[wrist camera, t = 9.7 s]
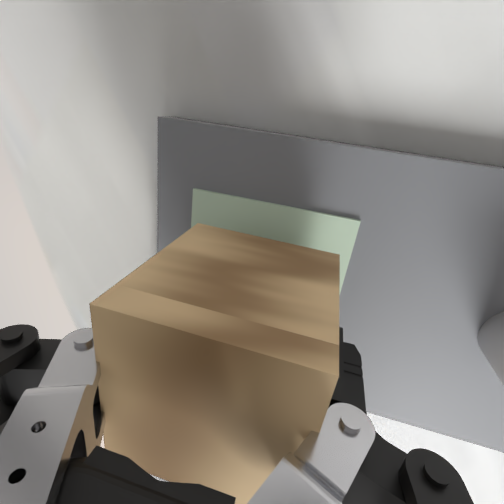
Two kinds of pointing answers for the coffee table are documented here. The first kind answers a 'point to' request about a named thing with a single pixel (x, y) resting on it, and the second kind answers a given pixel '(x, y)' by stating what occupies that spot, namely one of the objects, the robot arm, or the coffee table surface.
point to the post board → (369, 255)
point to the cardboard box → (218, 357)
